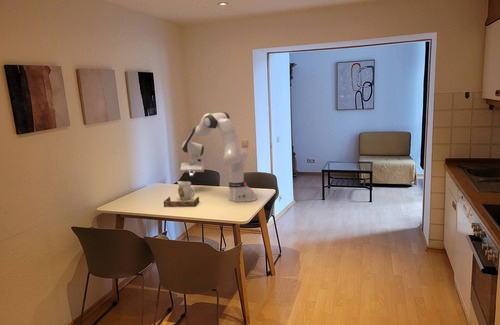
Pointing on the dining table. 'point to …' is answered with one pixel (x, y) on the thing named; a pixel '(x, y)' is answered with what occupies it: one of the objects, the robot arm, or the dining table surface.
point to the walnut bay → (180, 203)
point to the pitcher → (185, 190)
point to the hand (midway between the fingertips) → (191, 175)
